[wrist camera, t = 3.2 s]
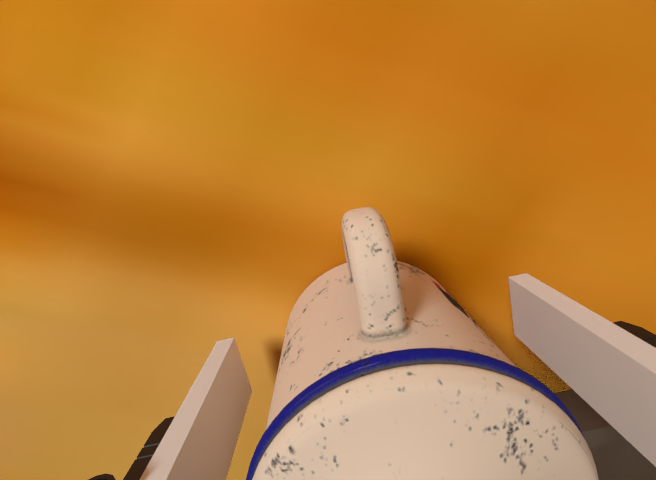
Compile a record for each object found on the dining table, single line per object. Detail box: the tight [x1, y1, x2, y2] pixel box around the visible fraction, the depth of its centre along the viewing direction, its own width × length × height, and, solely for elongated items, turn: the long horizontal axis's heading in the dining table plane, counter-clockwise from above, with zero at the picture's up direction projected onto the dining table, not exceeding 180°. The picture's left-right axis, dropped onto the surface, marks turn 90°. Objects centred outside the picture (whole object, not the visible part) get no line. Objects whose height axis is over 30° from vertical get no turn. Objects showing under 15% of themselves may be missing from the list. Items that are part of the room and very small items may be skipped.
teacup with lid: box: [246, 207, 598, 480], centre depth 11 cm, size 12×9×12 cm
